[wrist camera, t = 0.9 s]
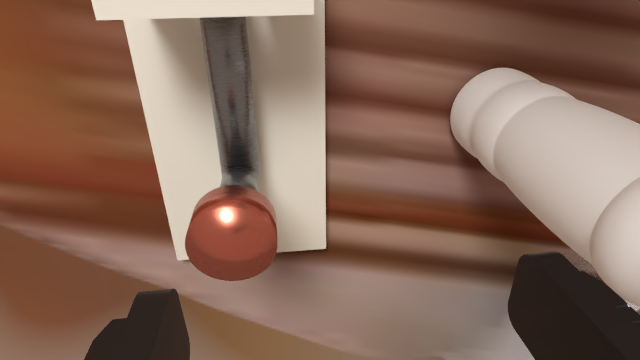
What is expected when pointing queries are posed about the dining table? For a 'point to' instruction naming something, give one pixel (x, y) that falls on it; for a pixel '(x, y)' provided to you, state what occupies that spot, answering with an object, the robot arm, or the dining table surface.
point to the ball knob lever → (232, 166)
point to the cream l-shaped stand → (269, 102)
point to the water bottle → (560, 165)
